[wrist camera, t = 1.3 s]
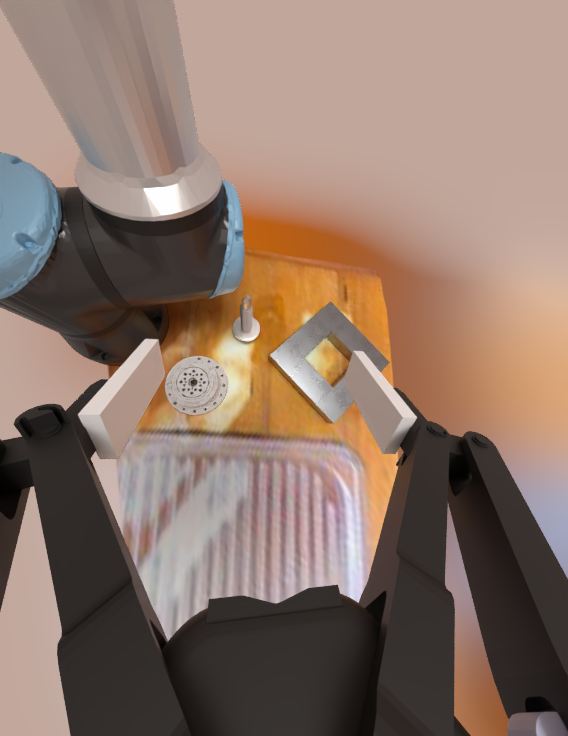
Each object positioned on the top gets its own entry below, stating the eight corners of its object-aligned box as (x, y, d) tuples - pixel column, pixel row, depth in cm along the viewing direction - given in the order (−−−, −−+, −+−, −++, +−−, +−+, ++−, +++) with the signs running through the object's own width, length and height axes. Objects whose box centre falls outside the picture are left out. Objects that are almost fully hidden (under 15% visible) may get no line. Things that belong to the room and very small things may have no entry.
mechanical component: (226, 415, 40) (229, 359, 42) (223, 415, 35) (227, 352, 37) (164, 414, 38) (171, 356, 40) (154, 414, 34) (162, 349, 36)
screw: (235, 346, 42) (231, 321, 43) (261, 342, 43) (256, 318, 44) (230, 316, 29) (225, 282, 30) (267, 312, 30) (261, 279, 31)
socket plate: (268, 359, 42) (269, 355, 40) (325, 308, 47) (330, 301, 44) (327, 422, 42) (333, 423, 39) (380, 365, 46) (389, 362, 43)
